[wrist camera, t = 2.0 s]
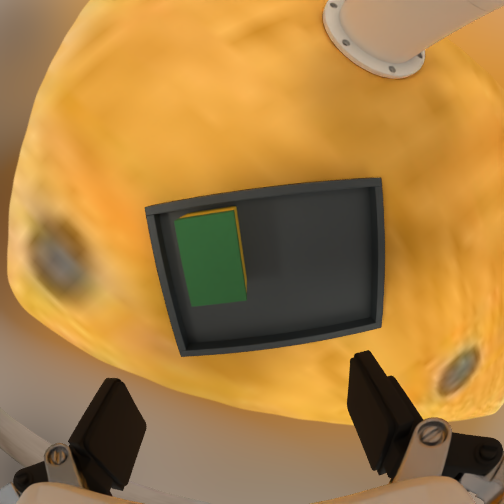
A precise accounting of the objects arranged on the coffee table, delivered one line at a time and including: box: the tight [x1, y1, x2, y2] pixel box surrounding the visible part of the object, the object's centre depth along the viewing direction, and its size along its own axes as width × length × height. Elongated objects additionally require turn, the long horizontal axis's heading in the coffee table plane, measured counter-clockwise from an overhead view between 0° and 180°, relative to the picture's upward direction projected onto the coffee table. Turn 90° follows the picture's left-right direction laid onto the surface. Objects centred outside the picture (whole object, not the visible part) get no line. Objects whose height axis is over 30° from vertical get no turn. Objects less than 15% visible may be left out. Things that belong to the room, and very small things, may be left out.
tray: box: [145, 178, 385, 357], centre depth 25 cm, size 16×22×2 cm
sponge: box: [174, 206, 247, 307], centre depth 23 cm, size 7×4×5 cm, turn 8°
